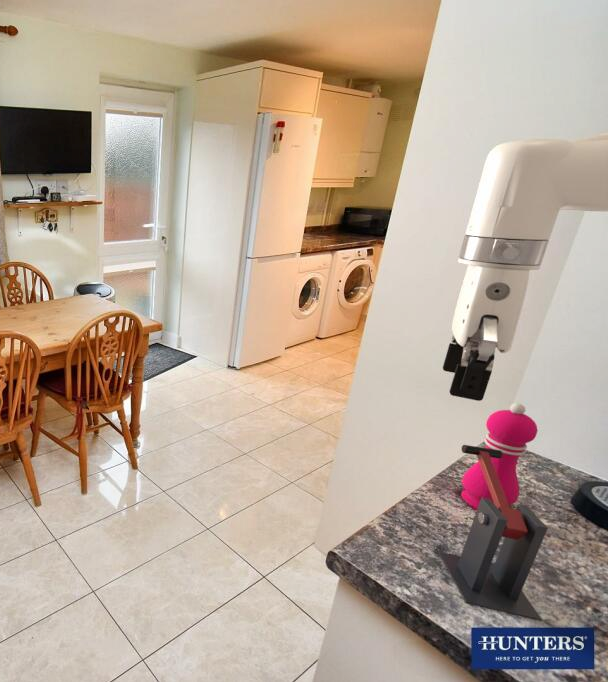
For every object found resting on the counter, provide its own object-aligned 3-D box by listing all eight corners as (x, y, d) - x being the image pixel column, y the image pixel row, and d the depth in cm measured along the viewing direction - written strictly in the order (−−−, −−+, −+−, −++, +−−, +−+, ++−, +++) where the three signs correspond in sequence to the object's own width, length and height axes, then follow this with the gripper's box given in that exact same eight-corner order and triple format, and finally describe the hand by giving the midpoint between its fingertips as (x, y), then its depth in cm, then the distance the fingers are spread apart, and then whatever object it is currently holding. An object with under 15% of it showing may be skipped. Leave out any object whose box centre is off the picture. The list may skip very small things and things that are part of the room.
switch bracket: (436, 557, 66) (460, 484, 62) (501, 571, 63) (530, 496, 59) (463, 608, 58) (493, 528, 54) (539, 626, 55) (576, 544, 51)
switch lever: (458, 450, 66) (465, 440, 65) (494, 455, 65) (503, 446, 64) (486, 533, 57) (495, 525, 56) (529, 542, 56) (539, 534, 55)
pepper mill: (445, 500, 78) (479, 397, 72) (472, 491, 81) (506, 391, 74) (492, 527, 72) (533, 417, 66) (519, 517, 74) (562, 410, 68)
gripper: (565, 264, 44) (511, 417, 50) (525, 249, 58) (486, 370, 64) (470, 257, 48) (429, 400, 54) (453, 244, 62) (422, 359, 67)
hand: (460, 384), depth 59 cm, fingers open, 9 cm apart
